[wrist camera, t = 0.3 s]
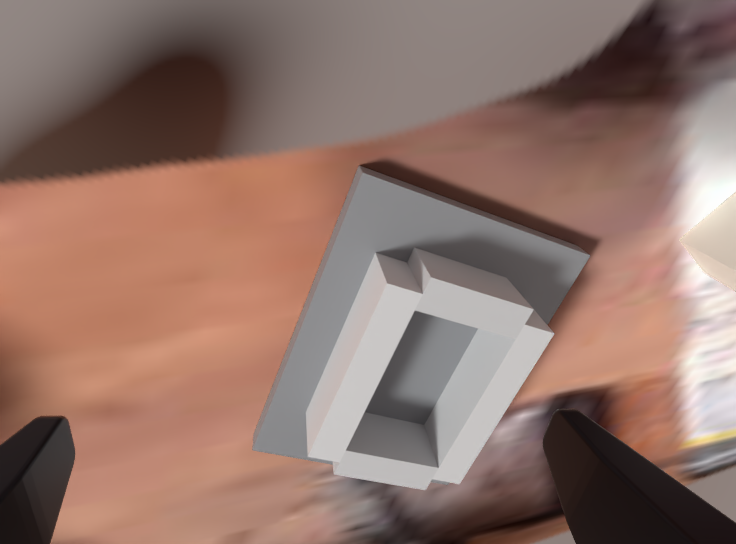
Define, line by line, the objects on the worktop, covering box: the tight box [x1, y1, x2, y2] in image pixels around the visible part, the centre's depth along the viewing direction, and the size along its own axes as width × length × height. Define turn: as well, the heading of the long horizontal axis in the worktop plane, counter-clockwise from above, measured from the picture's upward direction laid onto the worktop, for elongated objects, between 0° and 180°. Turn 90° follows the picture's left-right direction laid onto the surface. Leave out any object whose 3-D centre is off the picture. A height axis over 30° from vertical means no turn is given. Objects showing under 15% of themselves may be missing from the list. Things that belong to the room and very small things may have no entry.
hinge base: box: [252, 165, 590, 490], centre depth 24 cm, size 16×12×4 cm
